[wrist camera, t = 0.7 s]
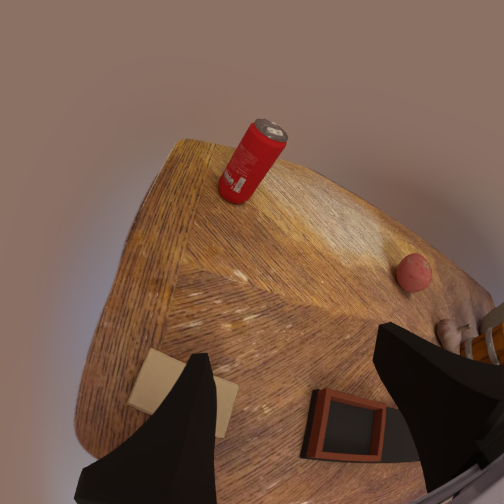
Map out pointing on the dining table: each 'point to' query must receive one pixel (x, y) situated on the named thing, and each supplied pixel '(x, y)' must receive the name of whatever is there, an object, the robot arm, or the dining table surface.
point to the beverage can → (252, 160)
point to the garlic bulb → (450, 334)
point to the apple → (414, 273)
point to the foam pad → (163, 379)
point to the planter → (492, 318)
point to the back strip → (355, 431)
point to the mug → (486, 346)
